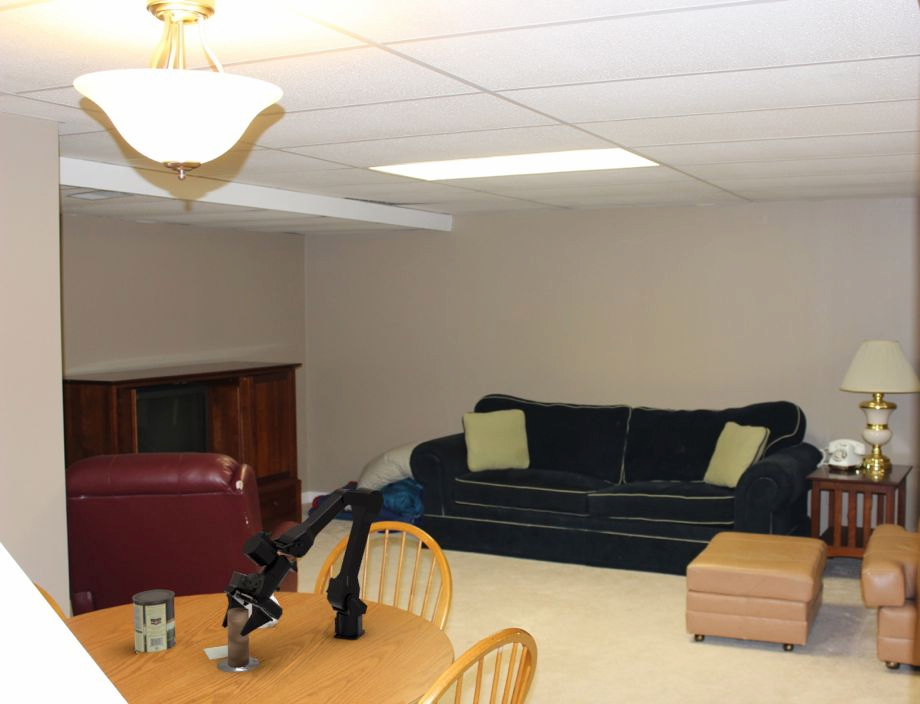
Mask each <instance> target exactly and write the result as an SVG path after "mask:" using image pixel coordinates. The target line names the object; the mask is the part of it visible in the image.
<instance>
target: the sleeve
mask: <svg viewBox="0 0 920 704" xmlns="http://www.w3.org/2000/svg"><path fill="white" fill-rule="evenodd" d="M227 613H228V626H227V645H228V657H227V658H228V665H229V666H230V667H244V666H246V665H248V664H249V657H250V633H249V634H247V635H246V636H244V637H243V636H241V635H240V633H241V631H242V629H243V627H244V626H245V624H246V622H247V621H248V619H249V610H248V609H247V608H233V609H230V610H228V612H227Z"/></svg>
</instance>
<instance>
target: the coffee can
mask: <svg viewBox="0 0 920 704" xmlns="http://www.w3.org/2000/svg"><path fill="white" fill-rule="evenodd" d="M175 593H176V592H174V591H173V590H170V589H169V590H168V589H150V590H145V591H140V592H138V593H136V594H134V595H133V596H132V603H133V604H132V606H133V607H132V608H133V625H134V626H133V627H134V628H133V629H134V631H133V632H134V652H135V651H136V652H138V654H139V653H159V652H165V651H167V650H169V649H172V648H173V647H175V646H176V644H177V643H176V640H177V639H176V617H175V616H176V613H175V609H176V608H175V607H176V606H175V596H176V594H175Z"/></svg>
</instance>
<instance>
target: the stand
mask: <svg viewBox="0 0 920 704" xmlns="http://www.w3.org/2000/svg"><path fill="white" fill-rule="evenodd" d="M203 651H204V653H205V654H206V656H207V658H208V660H210V661H211V660H212V661H213V660H216V659H217V660H218V659H223V658H224V659H225V658H228V644H227V645H221V646H220V645H219V646H215V647H207V648H203Z"/></svg>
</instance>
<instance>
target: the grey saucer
mask: <svg viewBox="0 0 920 704" xmlns="http://www.w3.org/2000/svg"><path fill="white" fill-rule="evenodd" d="M259 665H260V660H259V659H258V658H257V657H254V656H249V664H248V665H246V666H244V667H230V666H229V665H228V657H226V658H224V659H222V660H220V661H219V662H217V664H216V668H217V669H218V670H219V671H221V672H224V673H233V674H234V673H244V672H248V671H251V670H253V669H256V668H257V667H258V666H259Z"/></svg>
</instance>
